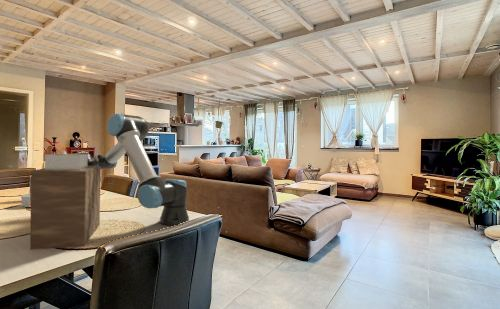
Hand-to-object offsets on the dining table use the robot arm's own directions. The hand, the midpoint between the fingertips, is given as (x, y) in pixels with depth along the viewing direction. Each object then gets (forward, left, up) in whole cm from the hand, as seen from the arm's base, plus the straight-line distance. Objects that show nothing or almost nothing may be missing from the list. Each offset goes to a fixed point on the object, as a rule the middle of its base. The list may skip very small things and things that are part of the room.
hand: (79, 152), depth 130 cm
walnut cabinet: (-9, +9, -36) cm, 39 cm away
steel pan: (-5, +5, -6) cm, 10 cm away
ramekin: (+64, -11, -37) cm, 74 cm away
